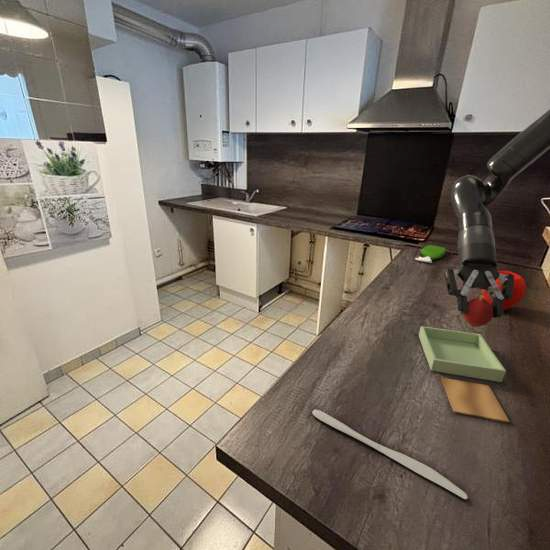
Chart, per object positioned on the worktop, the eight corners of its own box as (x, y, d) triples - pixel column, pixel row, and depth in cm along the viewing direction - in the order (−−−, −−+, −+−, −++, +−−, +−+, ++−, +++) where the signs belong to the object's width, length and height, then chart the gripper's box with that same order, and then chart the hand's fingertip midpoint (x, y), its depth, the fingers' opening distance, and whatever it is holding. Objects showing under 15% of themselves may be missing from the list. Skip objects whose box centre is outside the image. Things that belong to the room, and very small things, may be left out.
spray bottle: (446, 253, 155) (435, 266, 138) (425, 249, 161) (411, 261, 144) (448, 248, 154) (436, 260, 137) (426, 244, 160) (412, 255, 143)
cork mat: (488, 386, 66) (488, 385, 66) (509, 423, 58) (509, 421, 57) (440, 378, 69) (441, 377, 68) (453, 412, 60) (454, 411, 60)
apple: (476, 296, 108) (487, 263, 103) (516, 305, 102) (529, 270, 97) (474, 309, 100) (486, 273, 94) (517, 320, 93) (533, 282, 88)
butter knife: (317, 404, 60) (310, 413, 58) (468, 487, 46) (467, 504, 44) (317, 406, 61) (310, 415, 58) (467, 490, 46) (466, 506, 44)
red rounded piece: (471, 317, 71) (480, 288, 68) (494, 330, 66) (505, 299, 63) (453, 321, 70) (461, 291, 66) (474, 335, 65) (485, 303, 61)
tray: (477, 343, 81) (480, 334, 80) (501, 382, 68) (506, 371, 67) (418, 335, 85) (420, 326, 83) (430, 370, 71) (433, 359, 70)
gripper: (449, 238, 69) (451, 306, 63) (519, 243, 66) (528, 315, 60) (438, 252, 76) (439, 315, 70) (501, 258, 72) (508, 323, 67)
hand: (480, 315), depth 65 cm, fingers closed on red rounded piece, 6 cm apart
